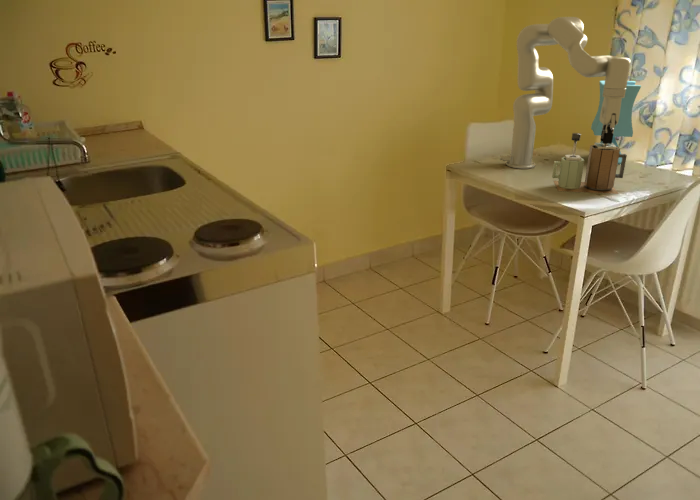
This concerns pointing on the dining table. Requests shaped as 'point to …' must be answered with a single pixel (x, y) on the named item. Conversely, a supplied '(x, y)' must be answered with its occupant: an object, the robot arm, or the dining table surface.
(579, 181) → the green press
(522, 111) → the robot arm
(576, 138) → the green press plunger
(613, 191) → the walnut board
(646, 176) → the dining table surface
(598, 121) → the planter
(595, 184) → the brown coffee press
